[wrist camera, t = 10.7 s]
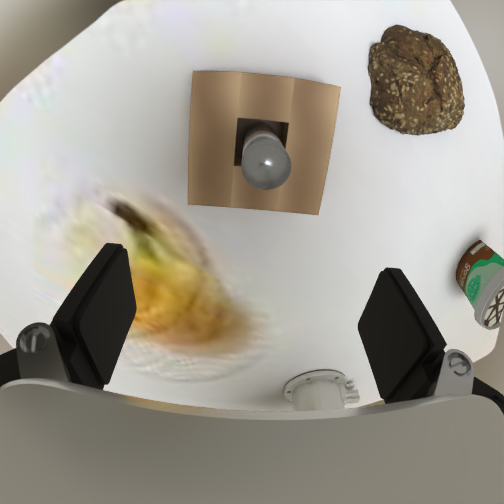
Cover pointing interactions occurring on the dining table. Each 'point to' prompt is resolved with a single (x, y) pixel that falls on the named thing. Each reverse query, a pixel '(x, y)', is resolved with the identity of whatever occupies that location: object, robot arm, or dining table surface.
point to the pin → (264, 158)
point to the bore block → (233, 131)
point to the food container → (483, 283)
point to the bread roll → (414, 83)
